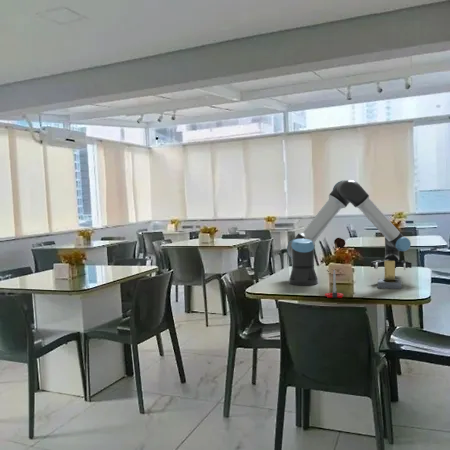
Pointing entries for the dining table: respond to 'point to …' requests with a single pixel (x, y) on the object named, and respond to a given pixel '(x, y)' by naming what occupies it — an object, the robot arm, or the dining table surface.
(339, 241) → the dark brown rounded piece
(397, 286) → the jig
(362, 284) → the dining table surface
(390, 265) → the golden tall block
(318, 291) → the dining table surface
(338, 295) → the grey spike red base
